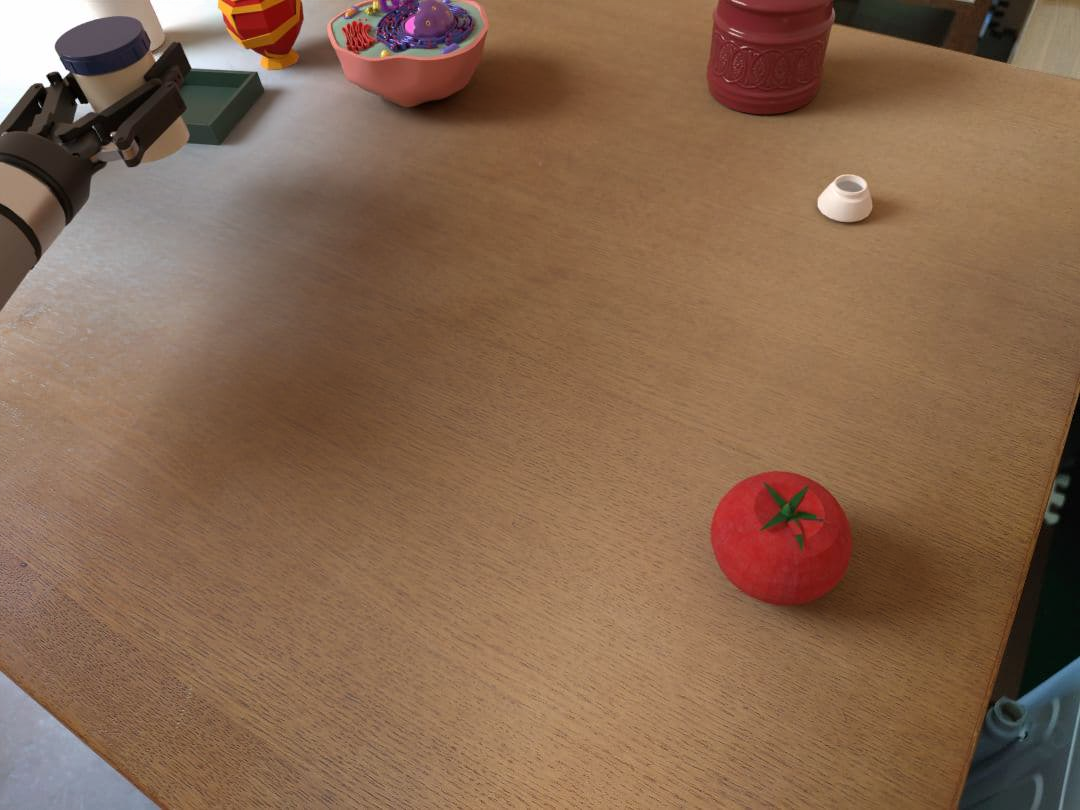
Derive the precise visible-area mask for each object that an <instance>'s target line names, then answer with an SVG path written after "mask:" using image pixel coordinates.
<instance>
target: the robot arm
mask: <svg viewBox="0 0 1080 810" xmlns="http://www.w3.org/2000/svg"><path fill="white" fill-rule="evenodd" d="M186 54H187V53H186V52H185V50H184V48H183V45H182V43H181V41H172V43H170V45H169V46H168V47H167V48H166V49H165V51H163V53H162V54H161V55H160V56H159V58H157V60H156V62H155V63H154V65H153V66H152V67H151V68H150V69H149V70H148V72H147V73H146V74H145V75H144V76H143V77H144V79H145V81H146V83H145V84H143V85H142V86H140V87H138V88H137V89H135V90H134V91H132V92H131V93H129V94H128V95H126V96H125V97H123V98H122V99H120V100H119V101H117V102H116V103H114V104H112V105H111V106H109V107H108V108H106V109H105V110H103V111H102V112H100V113H99V114H98V113H95V112H94V111H90V112H88V113H86V114H85V115H83V116H82V117H80V118H78V119H77V120H75V116H76V113H77V110H78V109H77V108H78V102H79V103H80V105H88V104H89V102H88V100H87V99H86V97H85V95H84V93H83V91H82V90H81V88H80V86H79V84H78V83H77V81H76V79H75V77H74V76H73V74H72V73H71V72H69V71H68V73H67V74H66V75H65V76H64V77H62V75H61V73H60V72H59V71H56V70H55V71H51V72H49V73H47V74H46V75H45V77H46V79H47V81H48V82H49V86H45V85H44V83H41V82H35V83H33V84H32V85H31V86H29V87H28V89H27V90H26V91H25V92H24V93H23V95H22V96H21V97H20V99H19V100H18V101H17V102H16V104H15V105H14V107H13V108H12V109H11V110H10V112H8V114H7V115H6V116H5V118H4V119H3V120H2V121H1V123H0V312H2V310H3V309H4V307H5V306H6V305H7V303H8V302H9V300H10V299H11V297H12V296H13V294H15V292H16V290H17V289H18V288H19V286H20V285H21V283H22V282H23V281H24V279H25V278H26V277H27V275H28V274H29V272H30V271H31V270H34V268H35V266H37V264H38V263H39V262H40V260H41V259H42V257H43V256H44V254H45V253H47V251H48V250H49V249H50V248H51V246H52V245H53V243H54V242H55V241H56V240H57V239H58V237H59V236H60V235H61V234H62V232H63V231H64V229H65V227H67V226H68V225H69V224H70V223H72V221H73V220H74V218H75V217H76V216H77V215H78V213H79V212H80V211H81V209H82V208H84V207H85V205H86V204H87V202H88V201H89V198H90V196H91V195H90V193H91V184H92V177H93V176H94V175H96V174H97V173H98V172H99V171H101V170H103V169H104V168H106V166H107V165H108V162H115V161H123V162H124V164H125V166H126V167H127V168H130V169H131V168H136V167H138V166H139V165H140V164H142V163H141V160H142V158H143V156H144V153H145V151H146V150H147V149H148V148H149V147H150V146H151V145H152V144H153V143H154V142H155V141H156V140H157V139H158V138H159V137H160V136H161V135H162V134H163V133H164V132H165V131H166V130H167V129H168V128H169V127H170V126H171V125H172V124H173V123H174V122H175V121H176V120H177V119H178V118H179V117H180V116H181V115H182V114H183V113H184V112H185V111H186V109H187V106H186V104H185V102H184V100H183V98H182V96H181V94H180V91H179V88H180V87H181V85H182V84H183V83H184V78H185V77H186V75H187V74H188V73H189V72H190V70H191V69H192V68H193V67H192V66H191V63H190V61H189V59H188V57H187V55H186ZM77 100H78V102H77ZM74 120H75V121H74Z"/></svg>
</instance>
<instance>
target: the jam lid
mask: <svg viewBox="0 0 1080 810" xmlns="http://www.w3.org/2000/svg"><path fill="white" fill-rule="evenodd" d="M150 45H151V41H150V39H149V37H148V34H147V32H146V31H145V30H144V27H143V25H142V23H141V22H140V21H139V20H137V19H135V18H132V17H127V16H112V17H105V18H100V19H95V20H94V19H92V20H89V21H86V22H83V23H81V24H80V23H79V24H78V25H76V26H74V27H72V28H70V29H68V30H67V31H65V32H64V33H63V34H61V35H60V36H59V38H57V40H56V41H55V43H54V50H55V52H56V54H57V56H58V58H59V60H60V62H61V64H62V66H63V67H64V69H65V71H68V73H69V72H71V73H74V74H78V75H97V74H104V73H108V72H112V71H116V70H119V69H121V68H124V67H127V66H129V65H131V64H133V63H134V62H136V61H138V60H139V59H141V58H142V57H143V56H144V55H145V54H146V53H147V52H148V51H149V49H150Z"/></svg>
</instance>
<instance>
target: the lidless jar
mask: <svg viewBox="0 0 1080 810" xmlns="http://www.w3.org/2000/svg"><path fill="white" fill-rule="evenodd" d="M817 208H818V210H819V211H820V213H821V214H822V215H824V216H825V217H826V218H828V219H831V220H833V221H837V222H842V223H843V222H844V223H853V222H859V221H862V220H864V219H865V218H868V217H869V216H870V214H871V213H872V212H873V211H872V210H873V208H874V207H873V200H872V196H871V193H870V189H869V188H868V183H867V181H866V180H865V179H864V178H862V177H861V176H859V175H857V174H841V175H839V176H837V177H835V179H834V180H833V181H832V182H831V183H830V184H828V186H827V187H826V188H825V189H824V190H823V191H822V192H821V193H820V195H819V196H818V197H817Z"/></svg>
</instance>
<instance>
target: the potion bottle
mask: <svg viewBox="0 0 1080 810" xmlns="http://www.w3.org/2000/svg"><path fill="white" fill-rule="evenodd" d="M217 9H218V10H219V11H220V12H221V13H222V19H223V22H224V24H225V29H226V30H227V32H228V33H229V35H230V37H231V38H232V40H234V41H235V42H236V43H237V44H239V45H240V46H241V47H242V48H244V49H245V50H252V51H253V52H255V53H256V54H259V55H261V60H260V64H259V65H260V66H261V67H263V68H264V69H266V70H267V71H273V70H284V69H286V68H288V67H290V66H293V65H294V64H296V63H297V62H298V60H299V58H300V54H299V53H297V51H295V49H293V47H294V45H295V43H296V41H297V39H298V37H299V35H300V33H301V29H302V26H303V23H304V20H305V17H304V7H303V2H302V0H217Z"/></svg>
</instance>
